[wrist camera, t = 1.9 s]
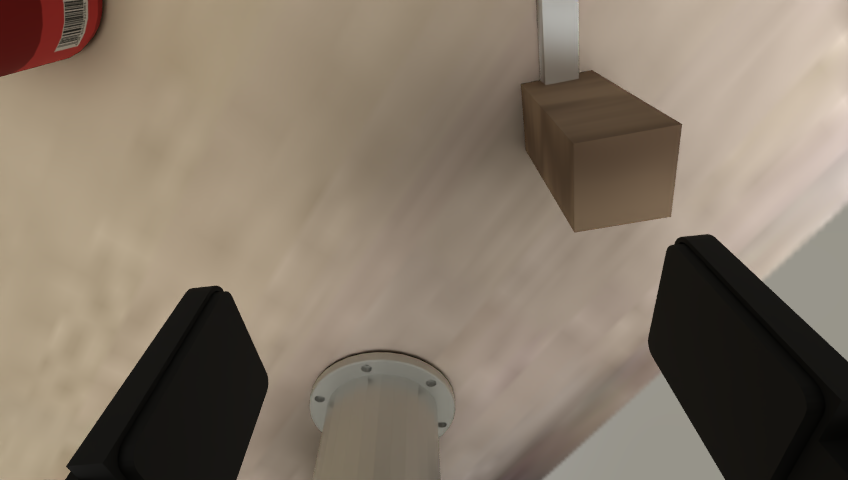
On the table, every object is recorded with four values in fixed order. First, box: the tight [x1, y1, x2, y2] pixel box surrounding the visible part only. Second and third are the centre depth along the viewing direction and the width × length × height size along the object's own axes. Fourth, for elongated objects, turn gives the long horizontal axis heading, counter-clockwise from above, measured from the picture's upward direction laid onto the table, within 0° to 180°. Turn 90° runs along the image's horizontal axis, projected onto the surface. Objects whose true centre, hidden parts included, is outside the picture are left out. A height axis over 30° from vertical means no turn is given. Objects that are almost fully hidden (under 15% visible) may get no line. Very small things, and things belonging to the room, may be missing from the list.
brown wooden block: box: [521, 0, 682, 232], centre depth 19 cm, size 16×4×10 cm, turn 11°
